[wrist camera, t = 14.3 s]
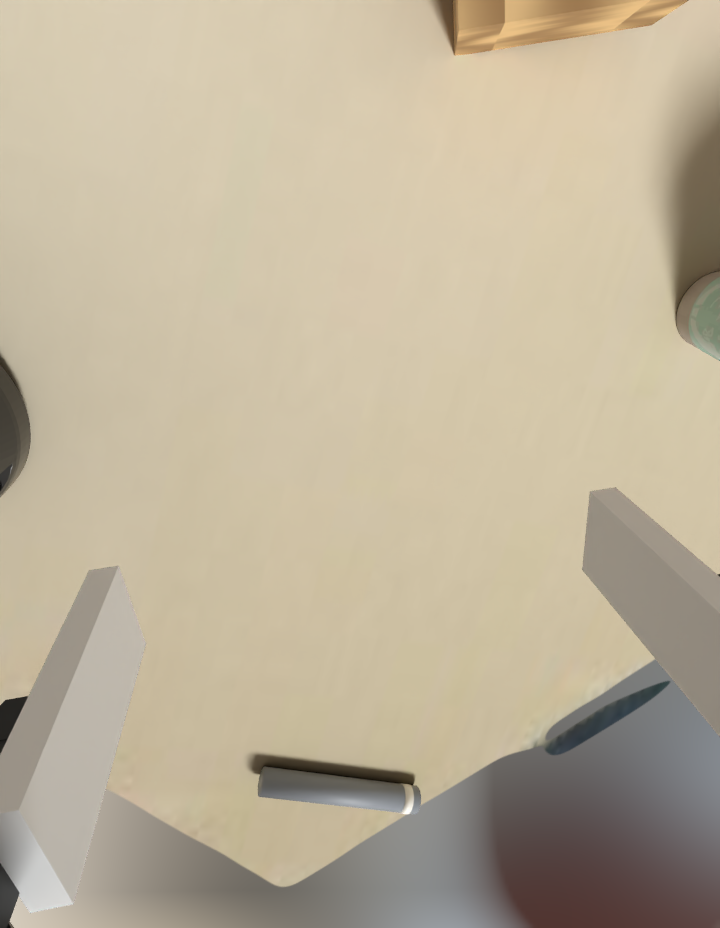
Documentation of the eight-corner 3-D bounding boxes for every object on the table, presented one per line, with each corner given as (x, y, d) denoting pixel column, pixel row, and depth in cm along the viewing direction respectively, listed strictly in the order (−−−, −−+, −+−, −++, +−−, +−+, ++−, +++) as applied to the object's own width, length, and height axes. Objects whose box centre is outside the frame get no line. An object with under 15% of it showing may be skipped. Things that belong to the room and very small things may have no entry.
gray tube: (263, 793, 57) (421, 811, 62) (267, 762, 60) (420, 782, 64) (256, 800, 59) (410, 817, 64) (259, 770, 61) (408, 788, 66)
